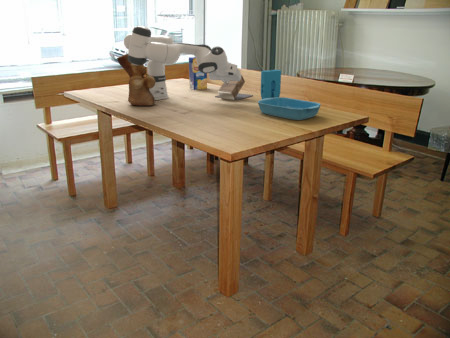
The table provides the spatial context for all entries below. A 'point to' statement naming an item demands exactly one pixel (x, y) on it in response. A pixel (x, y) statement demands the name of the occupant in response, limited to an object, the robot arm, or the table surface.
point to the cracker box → (196, 75)
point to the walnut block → (231, 89)
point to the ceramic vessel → (138, 83)
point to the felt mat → (239, 96)
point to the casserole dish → (289, 108)
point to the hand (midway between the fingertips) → (227, 83)
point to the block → (270, 83)
